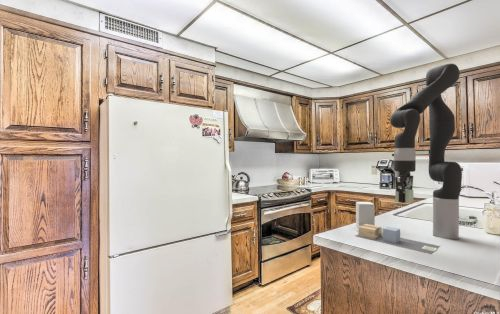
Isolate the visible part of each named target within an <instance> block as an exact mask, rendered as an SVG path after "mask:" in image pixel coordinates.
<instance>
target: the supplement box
mask: <svg viewBox="0 0 500 314" xmlns="http://www.w3.org/2000/svg"><path fill="white" fill-rule="evenodd" d="M375 209H376V208H375V204H374V203H373V202H371V201H356V202H355V226H356V228H357V230H359V226H361V225H364V224H369V225H374V226H376V225H375V224H376V223H375V211H376V210H375Z"/></svg>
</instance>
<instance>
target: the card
mask: <svg viewBox="0 0 500 314" xmlns="http://www.w3.org/2000/svg"><path fill="white" fill-rule="evenodd" d="M422 249H424V250H428V251H433V253H435V252H436V251H437V250H438V249H437V248H433V247H428V246H424V247H422ZM435 250H436V251H435Z"/></svg>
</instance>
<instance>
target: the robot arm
mask: <svg viewBox="0 0 500 314" xmlns="http://www.w3.org/2000/svg"><path fill="white" fill-rule="evenodd" d="M460 72H461V71H460V68H459V67H458V65H456V64H455V63H447V64H443V65H439V66H435V67H433V68H430V69H428V70H427V72H426V75H425V85H426V86H424V87H423V88H422V89H420V90H419V91H417V92H416V93H415V94H414V95H412V97H411V98H410V99H409V100H408V102H406V103H405V104H403V105H402V106H400V107H399V108H397V109H395V110H394V111H393V113H391V115H390V119H389V122H390V125H391V126H392V127H393V128H396V129H402V128H403V131H402V132H401V133H397V134H395V136H394V151H393V170H394V171H395V172H398V175H397V176H395V178H394V180H395V182H394V183H395V190H396V191H397V192H398V193H399V202H398V203H400V202H401V204H406V203H405V192H406V189H411V190H413V184H414V182H413V181H414V175H412V174H411V173H413V172H416V167H417V166H416V164H417V163H416V159H417V158H416V157H417V156H416V136H417V133H418V129H419V126H420V123H421V114H422V113H424V112H425V110H426V109H427V108H428V116H429V118H428V123H429V125H428V126H429V127H428V128H429V129H428V130H429V158H428V175H429V178H430V180H432V181H433V182H437V183H438V182H439V183H442V186H441V187H440V188H439V189H435V190H433V192H432V236H434V237H436V238H440V239H445V240H446V239H447V240H451V241H452V240H453V241H454V240H455V241H456V240H458V239H459V236H460V194H461V192H462V182H463V181H462V179H463V171H462V167H461V165H460V163H458V162H455V161H445V154H446V149H447V147H448V145H449V143H450V142H451V140H452V138H453V136H454V134H455V132H456V122H455V121H456V120H455V119H456V118H455V115H454V113H453V111H452V110H451V108H450V107H449V106H448V105H447V104H446V103H445V101H444V99H443V97H442V94H443V93H444V92H446V91H447V90H448V89H449V88H451V87H452V86H453V85H455V84H456V83H457V82H458V81H459V79H460Z"/></svg>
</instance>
